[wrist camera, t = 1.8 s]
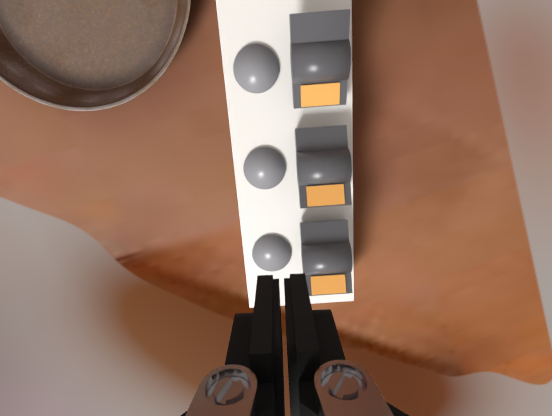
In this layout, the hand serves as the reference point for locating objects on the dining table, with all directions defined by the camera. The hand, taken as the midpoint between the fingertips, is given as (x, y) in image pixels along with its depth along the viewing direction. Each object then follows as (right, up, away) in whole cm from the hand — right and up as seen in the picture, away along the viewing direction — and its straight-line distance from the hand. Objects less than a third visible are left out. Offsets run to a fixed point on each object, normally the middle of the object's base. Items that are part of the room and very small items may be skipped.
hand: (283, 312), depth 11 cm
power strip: (+1, +12, +16) cm, 20 cm away
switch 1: (+3, +14, +11) cm, 18 cm away
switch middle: (+3, +7, +13) cm, 15 cm away
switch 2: (+4, 0, +15) cm, 16 cm away
